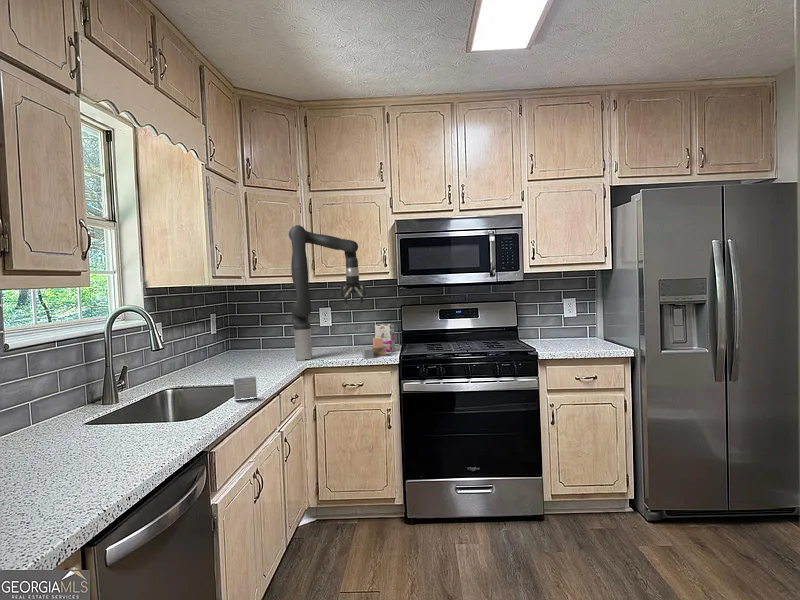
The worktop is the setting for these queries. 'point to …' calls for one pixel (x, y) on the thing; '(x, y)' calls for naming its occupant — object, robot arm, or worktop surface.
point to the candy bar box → (386, 335)
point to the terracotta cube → (377, 342)
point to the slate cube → (367, 353)
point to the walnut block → (379, 351)
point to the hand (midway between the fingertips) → (353, 303)
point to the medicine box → (245, 387)
